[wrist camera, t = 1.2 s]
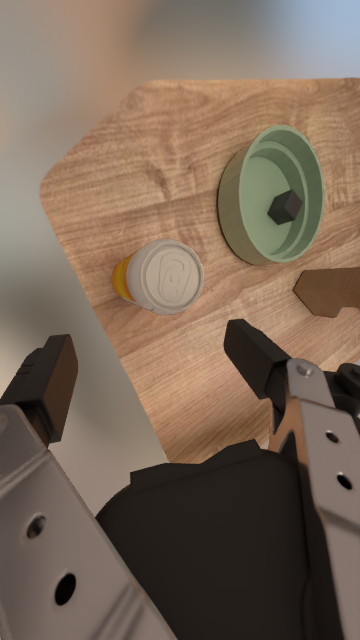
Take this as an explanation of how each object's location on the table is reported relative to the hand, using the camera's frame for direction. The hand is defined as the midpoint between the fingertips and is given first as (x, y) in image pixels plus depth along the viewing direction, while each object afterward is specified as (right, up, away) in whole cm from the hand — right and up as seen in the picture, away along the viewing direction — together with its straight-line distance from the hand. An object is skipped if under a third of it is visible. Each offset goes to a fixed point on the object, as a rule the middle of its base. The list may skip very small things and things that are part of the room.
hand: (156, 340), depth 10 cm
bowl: (+16, +21, +25) cm, 37 cm away
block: (+19, +21, +26) cm, 39 cm away
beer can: (-6, +7, +18) cm, 20 cm away
